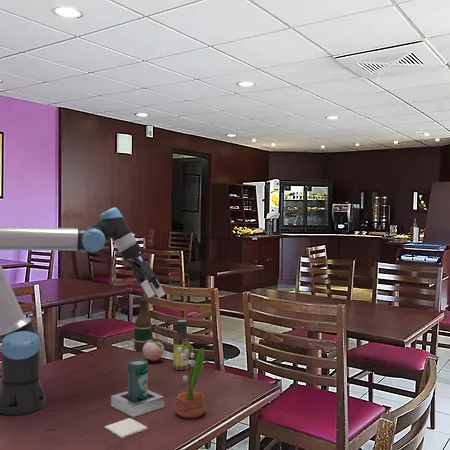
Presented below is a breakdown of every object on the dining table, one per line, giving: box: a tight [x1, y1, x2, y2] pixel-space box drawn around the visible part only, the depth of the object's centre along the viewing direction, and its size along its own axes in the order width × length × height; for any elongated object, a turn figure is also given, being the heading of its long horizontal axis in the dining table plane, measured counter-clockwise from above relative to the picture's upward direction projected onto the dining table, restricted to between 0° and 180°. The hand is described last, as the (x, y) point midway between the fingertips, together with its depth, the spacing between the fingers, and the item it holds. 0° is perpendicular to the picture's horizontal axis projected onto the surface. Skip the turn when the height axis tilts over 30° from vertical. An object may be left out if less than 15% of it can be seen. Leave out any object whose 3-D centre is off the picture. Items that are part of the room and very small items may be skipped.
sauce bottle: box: [172, 319, 190, 371], centre depth 210 cm, size 7×6×20 cm
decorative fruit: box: [142, 338, 165, 362], centre depth 219 cm, size 9×8×10 cm
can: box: [127, 358, 149, 403], centre depth 169 cm, size 6×6×15 cm
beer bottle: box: [133, 297, 152, 353], centre depth 237 cm, size 8×8×24 cm
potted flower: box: [174, 337, 207, 419], centre depth 164 cm, size 12×10×25 cm
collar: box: [110, 389, 165, 418], centre depth 170 cm, size 12×12×4 cm
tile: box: [104, 417, 148, 439], centre depth 153 cm, size 9×9×1 cm
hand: (156, 296), depth 191 cm, fingers open, 13 cm apart
